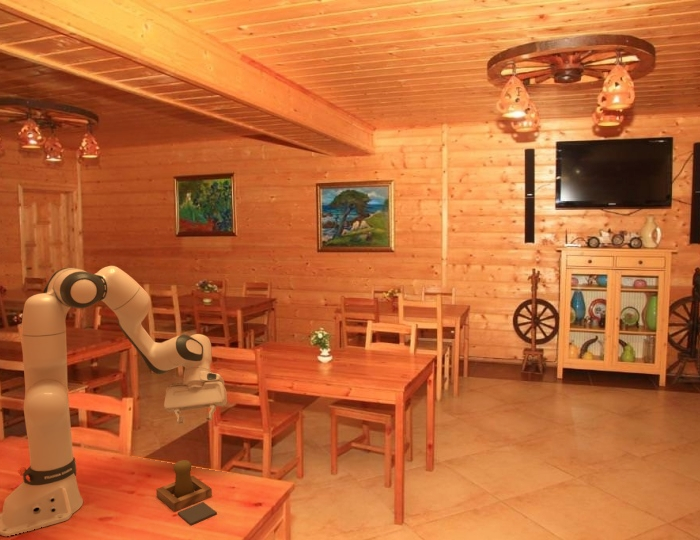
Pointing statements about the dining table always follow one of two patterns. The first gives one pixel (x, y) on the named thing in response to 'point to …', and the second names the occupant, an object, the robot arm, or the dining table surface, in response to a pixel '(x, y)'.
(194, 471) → the dining table surface
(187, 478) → the cork
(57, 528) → the dining table surface
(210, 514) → the rubber mat
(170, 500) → the walnut housing
